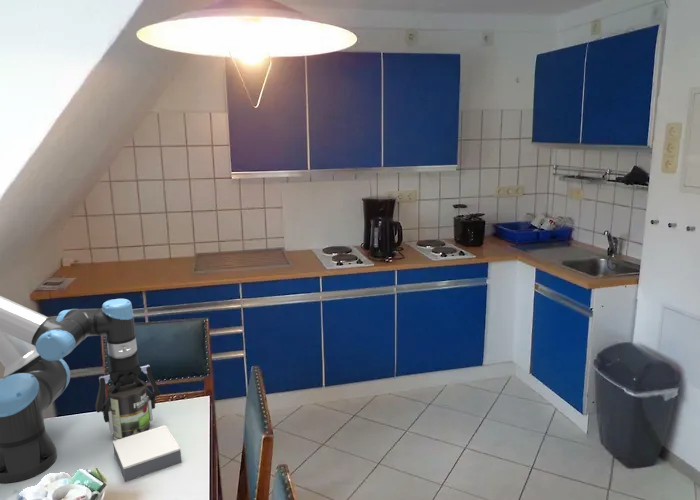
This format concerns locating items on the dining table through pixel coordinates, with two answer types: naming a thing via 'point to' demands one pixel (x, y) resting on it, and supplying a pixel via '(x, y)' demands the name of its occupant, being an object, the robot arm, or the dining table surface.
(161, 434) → the plinth
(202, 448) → the dining table surface
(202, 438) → the dining table surface
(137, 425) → the coffee can
